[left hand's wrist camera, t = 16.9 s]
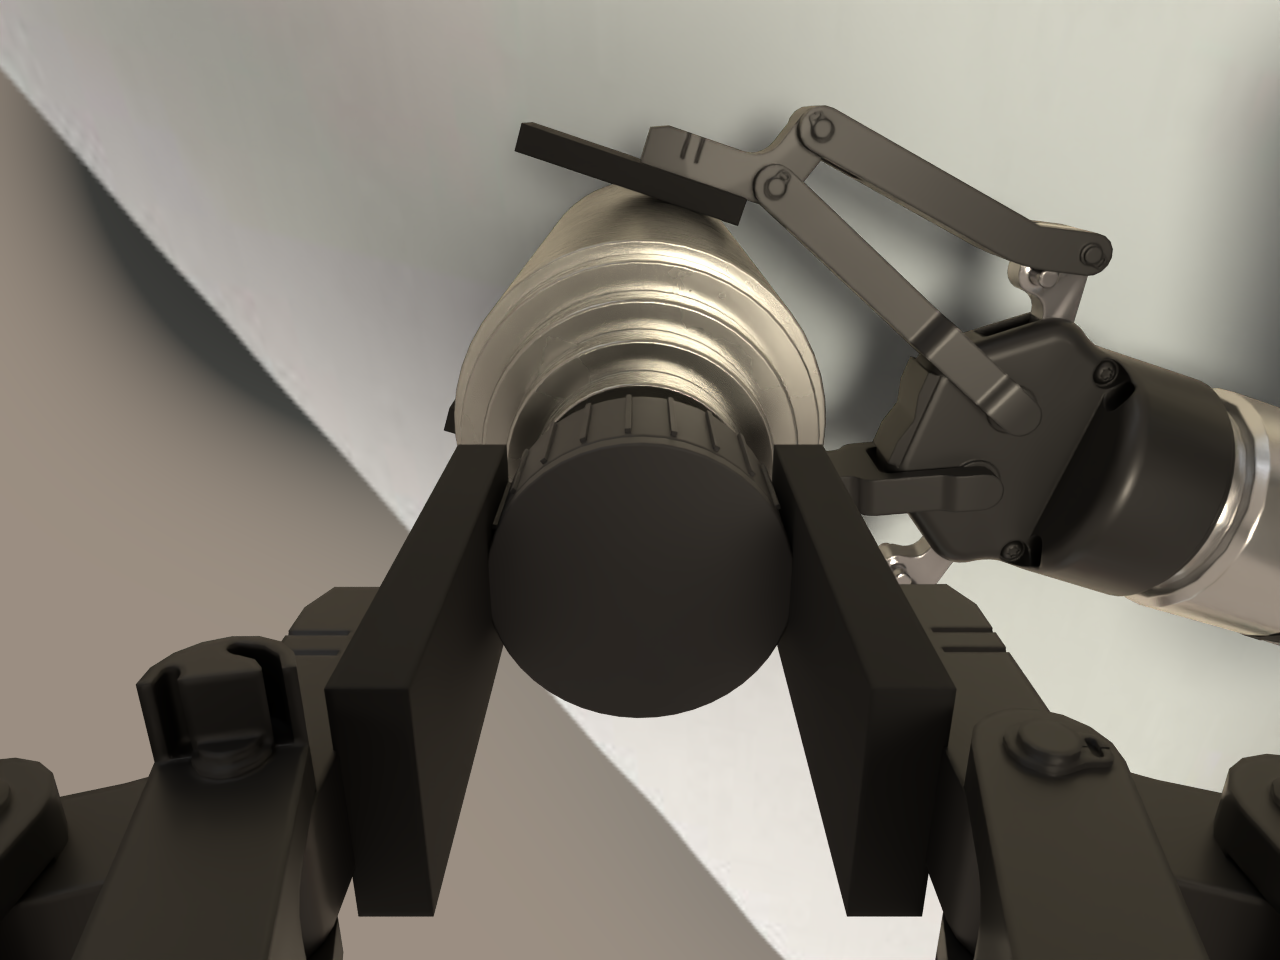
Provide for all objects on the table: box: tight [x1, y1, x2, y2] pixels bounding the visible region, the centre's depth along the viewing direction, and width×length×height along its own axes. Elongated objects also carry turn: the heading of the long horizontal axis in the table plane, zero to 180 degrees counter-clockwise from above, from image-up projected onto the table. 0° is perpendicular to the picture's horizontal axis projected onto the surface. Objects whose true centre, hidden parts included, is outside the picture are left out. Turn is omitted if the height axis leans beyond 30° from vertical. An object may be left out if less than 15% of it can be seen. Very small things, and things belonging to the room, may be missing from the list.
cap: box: [488, 395, 793, 718], centre depth 14 cm, size 4×4×2 cm
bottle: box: [454, 184, 826, 483], centre depth 24 cm, size 8×8×23 cm
